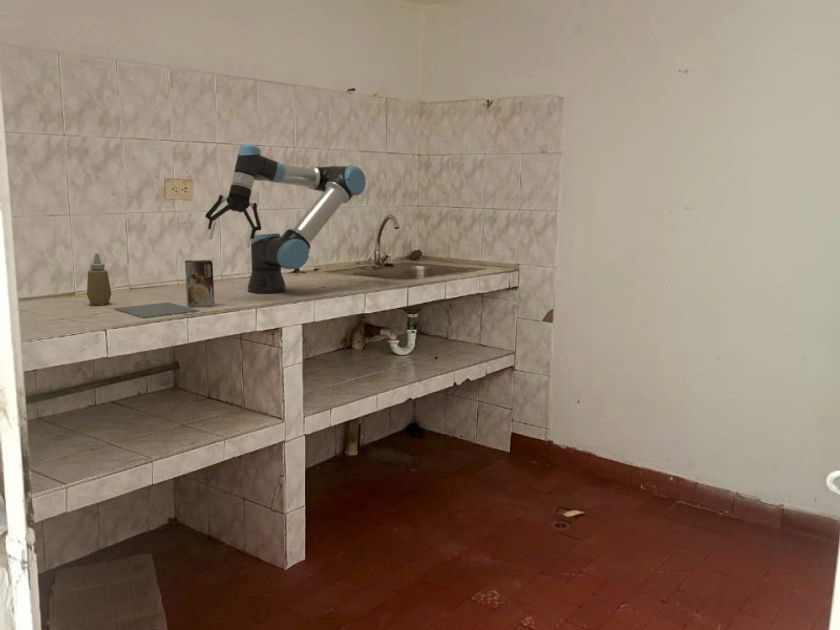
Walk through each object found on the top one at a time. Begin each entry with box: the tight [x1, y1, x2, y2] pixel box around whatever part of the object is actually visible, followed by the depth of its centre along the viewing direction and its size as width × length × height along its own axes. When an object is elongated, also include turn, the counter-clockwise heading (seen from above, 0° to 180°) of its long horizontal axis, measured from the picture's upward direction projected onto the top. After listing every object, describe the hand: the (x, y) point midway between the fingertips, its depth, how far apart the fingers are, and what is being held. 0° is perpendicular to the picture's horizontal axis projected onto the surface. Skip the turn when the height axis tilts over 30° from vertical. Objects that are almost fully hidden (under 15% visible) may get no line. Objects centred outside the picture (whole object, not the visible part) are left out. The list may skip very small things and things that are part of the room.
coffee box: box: [184, 259, 215, 308], centre depth 265 cm, size 9×6×16 cm
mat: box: [113, 301, 201, 319], centre depth 255 cm, size 20×22×1 cm
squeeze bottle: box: [86, 253, 112, 306], centre depth 263 cm, size 8×8×18 cm
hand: (228, 243), depth 272 cm, fingers open, 13 cm apart
